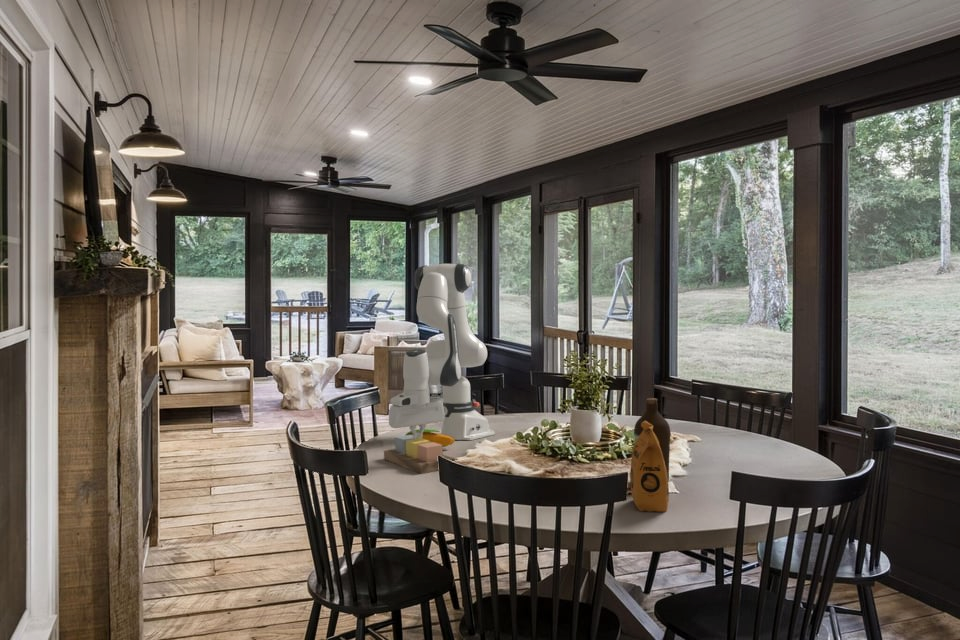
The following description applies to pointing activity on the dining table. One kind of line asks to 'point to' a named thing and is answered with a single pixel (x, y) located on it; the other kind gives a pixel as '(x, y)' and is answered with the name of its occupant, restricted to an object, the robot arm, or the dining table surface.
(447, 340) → the robot arm
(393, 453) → the button board
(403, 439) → the pad slate
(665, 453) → the olive oil
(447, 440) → the corn
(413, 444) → the pad mustard
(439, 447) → the pad terracotta
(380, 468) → the dining table surface
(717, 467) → the dining table surface
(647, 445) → the coffee package
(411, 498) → the dining table surface
